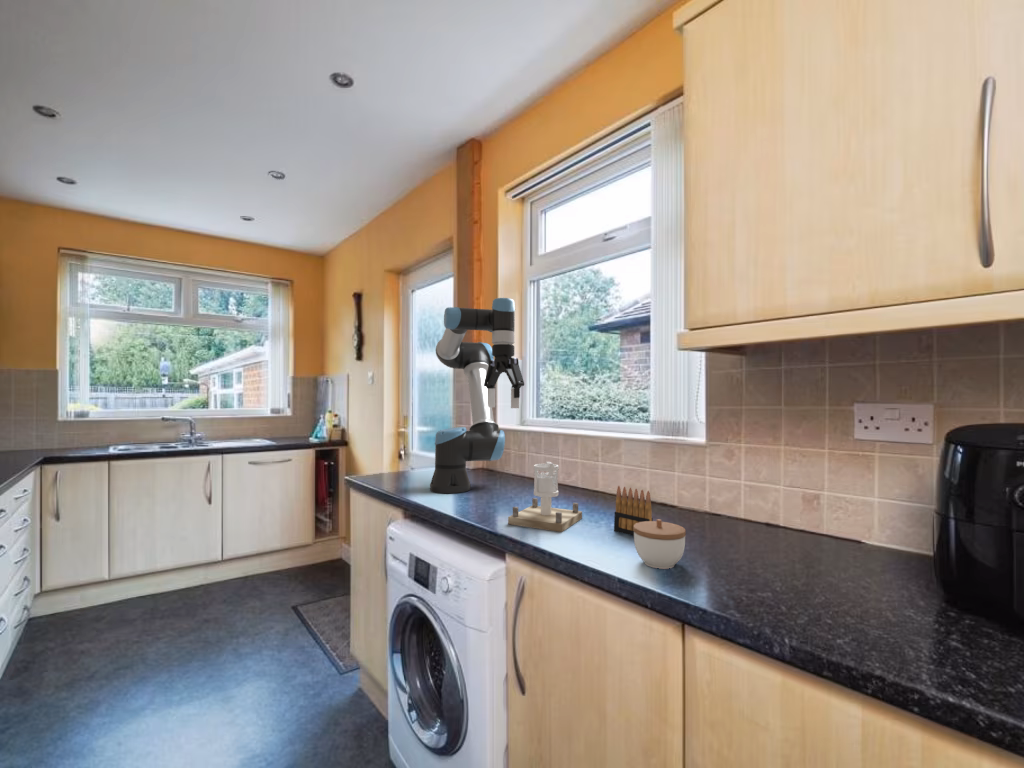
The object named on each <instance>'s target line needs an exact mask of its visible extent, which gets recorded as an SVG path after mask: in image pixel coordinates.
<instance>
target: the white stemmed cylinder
mask: <svg viewBox="0 0 1024 768" xmlns="http://www.w3.org/2000/svg"><path fill="white" fill-rule="evenodd" d="M533 470H534V472H533V473H534V474H533V476H534V480H533V481H534V484H533V485H534V486H533V496H535V497H539V498H540V506H541V515H551V508H552V498H555V497H558V496H559V464H554V462H551V461H545V463H536V464H534V465H533ZM540 471H541V472H540ZM539 472H540V473H539Z"/></svg>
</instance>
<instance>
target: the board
mask: <svg viewBox="0 0 1024 768" xmlns="http://www.w3.org/2000/svg"><path fill="white" fill-rule="evenodd" d="M531 500H532V505H530V506H528V507H526V508H524V509H522V510H520V511H519V506H512V514H511V515H510V516H508V517H507V523H508V525H511V526H519V527H525V528H532V529H538V530H547V531H552V532H559V533H563V532H564V531H566V530H567V529H568V528H570V527H572V526H573V525H575V524H576V523H577V522H579V521H580V520H582V519H583V511H581V510H579V502H572V509H565V508H557V507H551V515H541V505H539V503H538V501H539V499H538V497H533V498H532V499H531Z"/></svg>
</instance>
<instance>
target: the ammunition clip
mask: <svg viewBox="0 0 1024 768" xmlns="http://www.w3.org/2000/svg"><path fill="white" fill-rule="evenodd" d="M626 488H627V487H626V486H624V487H623V488H621V487H620V485H617V489H616V496H615V497H616V498H615V511H614V520H613V521H614V524H613V531H614V532H618V533H621V534H625V535H629V536H632V537H634V531H633V526H634V524H636V523H639V522H644V521H654V519H653V517H652V515H653V514H652V502H651V501H652V500H651V499H652V498H651V494H650V490H647V492H646V496H645V492H644V489H641V490H640V493H639V491H638V489H637V488H635V490H634V493H633V489H632V487H629V489H628V493H627V489H626ZM621 489H622V490H621Z"/></svg>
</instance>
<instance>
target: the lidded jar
mask: <svg viewBox="0 0 1024 768" xmlns="http://www.w3.org/2000/svg"><path fill="white" fill-rule="evenodd" d="M633 531H634V536H633V539H634V540H633V541H634V546H635V547H634V548H635V550H636V553H637V555H638V556H639V558H640V559H641V560H642V561H643V562H644V564H645V565H646V566H647V567H650V568H653V569H657V568H659V570H669V568H670V569H672V568H674V567H675V565H677V563H678V562H679V561H680V560H681V559H682V557H683V555H684V551H685V545H686V534H687V533H686V531H687V530H686V529H685V527H683V526H681V525H680V524H676V523H672V522H667V521H662V519H659V518H658V519H657V518H656V520H653V521H644V522H639V523H636V524H634V526H633Z"/></svg>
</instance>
